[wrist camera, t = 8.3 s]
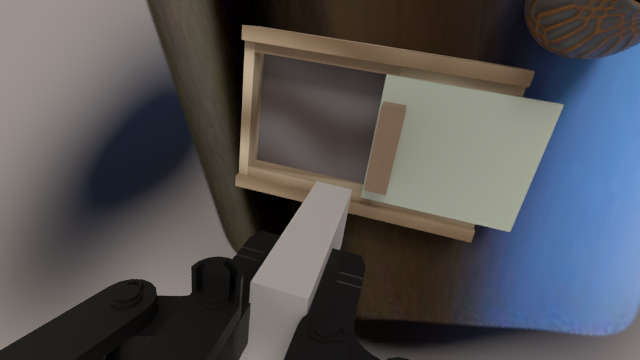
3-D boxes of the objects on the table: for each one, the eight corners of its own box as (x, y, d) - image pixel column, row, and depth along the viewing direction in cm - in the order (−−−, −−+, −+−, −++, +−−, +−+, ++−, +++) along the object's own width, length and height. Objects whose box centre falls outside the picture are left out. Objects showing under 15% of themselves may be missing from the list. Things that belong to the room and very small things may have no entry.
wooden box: (259, 26, 28) (242, 25, 25) (521, 67, 25) (535, 71, 22) (250, 173, 33) (235, 185, 31) (465, 223, 30) (470, 242, 27)
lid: (387, 73, 25) (383, 78, 22) (560, 103, 23) (581, 112, 20) (361, 194, 29) (356, 211, 26) (508, 228, 27) (519, 250, 24)
